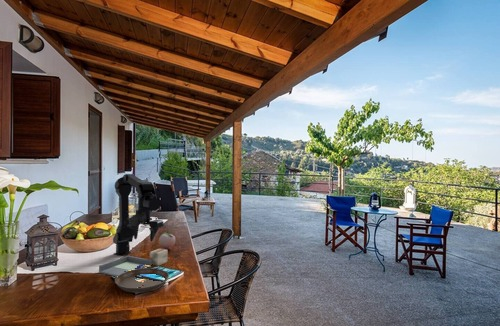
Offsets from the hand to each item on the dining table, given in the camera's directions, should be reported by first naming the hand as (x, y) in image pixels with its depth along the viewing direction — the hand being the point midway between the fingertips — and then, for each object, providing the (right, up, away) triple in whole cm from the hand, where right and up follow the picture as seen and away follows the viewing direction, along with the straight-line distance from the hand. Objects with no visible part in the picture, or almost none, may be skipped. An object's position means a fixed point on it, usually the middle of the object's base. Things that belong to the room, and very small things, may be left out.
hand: (143, 240), depth 148 cm
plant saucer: (+8, -13, -23) cm, 27 cm away
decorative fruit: (+4, -12, +28) cm, 31 cm away
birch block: (+6, -12, +4) cm, 14 cm away
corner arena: (-6, -12, -6) cm, 15 cm away
